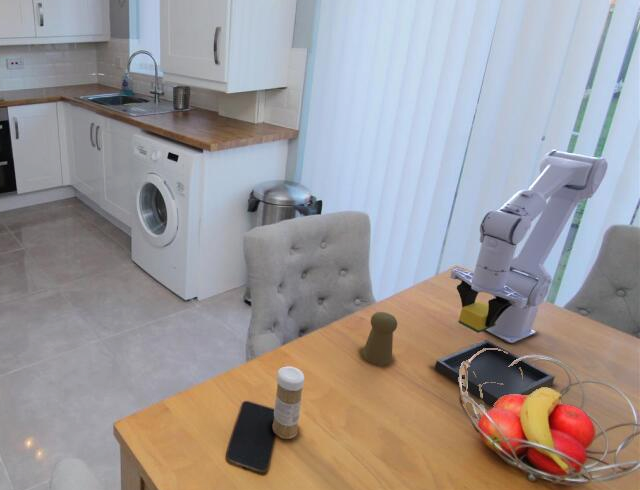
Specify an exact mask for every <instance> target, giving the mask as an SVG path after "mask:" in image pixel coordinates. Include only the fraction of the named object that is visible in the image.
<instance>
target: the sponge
mask: <svg viewBox="0 0 640 490" xmlns="http://www.w3.org/2000/svg"><path fill="white" fill-rule="evenodd" d="M488 309H489V304H487V303H485V302H482V301H480V300H478V301H475V303H473V304H470V305H468V306H465V307H462V306H461V311H460V314H459V318H458V324H459V325H461V326H464V327H466V328H467V329H470V330H471V331H473V332H476V333H478V334H479V333H482V332H483V331H486V329H489V328H491V327H493V326H495V325H496V322H497V321H496V322H495V324H494V325H493V326H491V327H486V326H485V324H486V318H487V315H488Z"/></svg>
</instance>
